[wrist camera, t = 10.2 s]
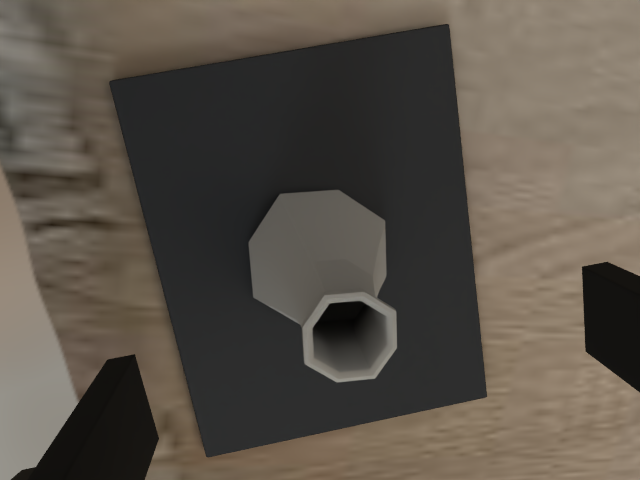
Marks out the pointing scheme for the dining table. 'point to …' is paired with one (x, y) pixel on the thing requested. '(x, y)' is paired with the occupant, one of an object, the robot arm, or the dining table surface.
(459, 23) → the dining table surface
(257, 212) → the placemat
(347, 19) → the dining table surface
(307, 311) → the flask
